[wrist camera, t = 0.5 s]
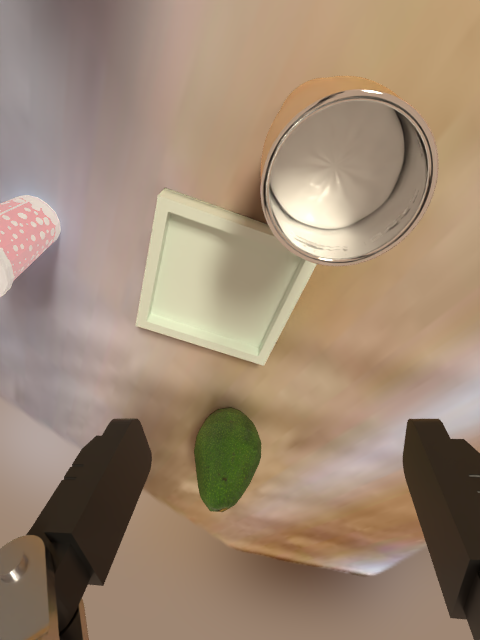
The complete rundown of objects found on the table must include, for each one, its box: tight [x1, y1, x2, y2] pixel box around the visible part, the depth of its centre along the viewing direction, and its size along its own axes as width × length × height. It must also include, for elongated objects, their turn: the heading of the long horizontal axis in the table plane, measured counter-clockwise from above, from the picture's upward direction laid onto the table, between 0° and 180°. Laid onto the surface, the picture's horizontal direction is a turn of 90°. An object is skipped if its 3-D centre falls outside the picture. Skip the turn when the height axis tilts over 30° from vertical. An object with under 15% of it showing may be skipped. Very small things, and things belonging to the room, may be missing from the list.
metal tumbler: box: [260, 76, 438, 266], centre depth 19 cm, size 7×7×15 cm
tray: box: [136, 188, 316, 366], centre depth 33 cm, size 14×14×2 cm
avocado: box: [194, 408, 261, 512], centre depth 41 cm, size 8×8×12 cm
